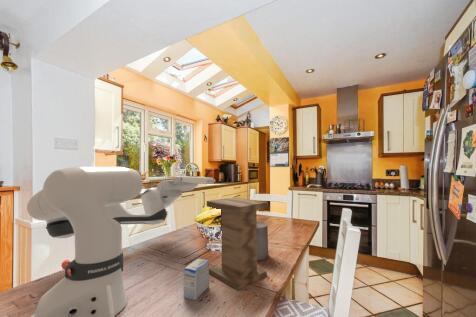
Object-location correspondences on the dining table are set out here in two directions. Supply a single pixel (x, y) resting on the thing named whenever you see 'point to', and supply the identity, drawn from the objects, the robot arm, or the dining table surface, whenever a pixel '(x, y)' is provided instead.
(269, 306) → the dining table surface
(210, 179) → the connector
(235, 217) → the stand
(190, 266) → the medicine box
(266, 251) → the pillar candle
